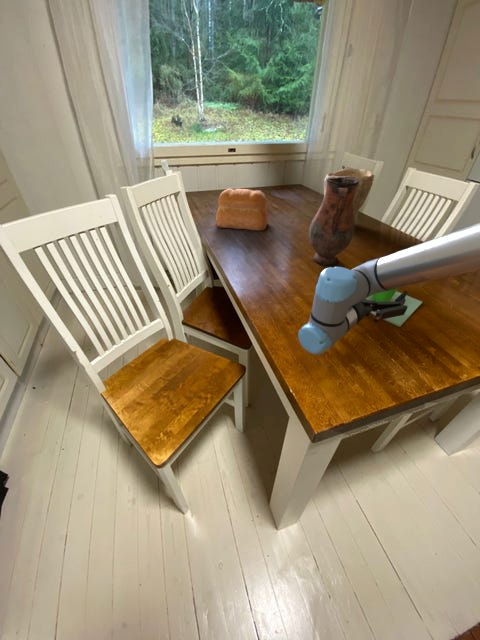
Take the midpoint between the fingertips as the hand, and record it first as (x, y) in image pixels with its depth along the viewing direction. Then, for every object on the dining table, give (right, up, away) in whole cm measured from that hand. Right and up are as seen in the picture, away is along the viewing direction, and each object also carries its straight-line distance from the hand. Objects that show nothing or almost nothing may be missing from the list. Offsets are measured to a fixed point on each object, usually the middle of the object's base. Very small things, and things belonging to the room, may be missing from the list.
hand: (381, 285), depth 81 cm
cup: (+4, -4, +8) cm, 9 cm away
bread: (-41, +39, +62) cm, 84 cm away
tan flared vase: (+10, +41, +65) cm, 77 cm away
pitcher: (-8, +13, +30) cm, 33 cm away
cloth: (+3, -4, +8) cm, 9 cm away
